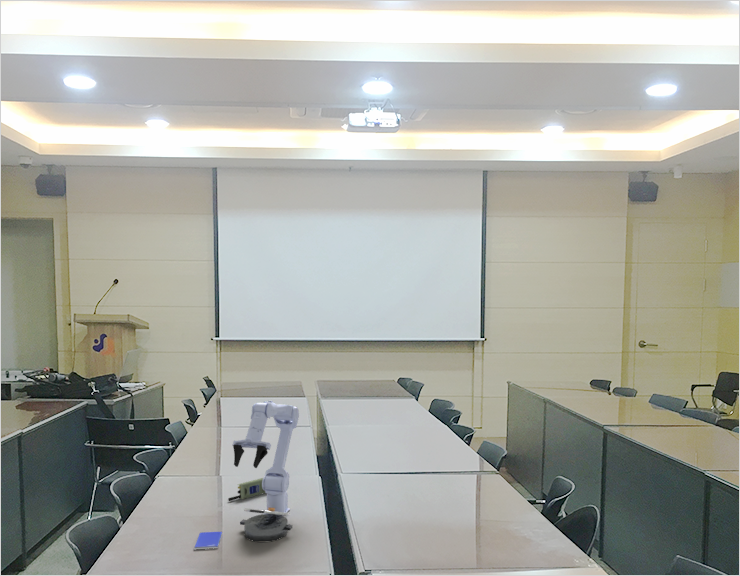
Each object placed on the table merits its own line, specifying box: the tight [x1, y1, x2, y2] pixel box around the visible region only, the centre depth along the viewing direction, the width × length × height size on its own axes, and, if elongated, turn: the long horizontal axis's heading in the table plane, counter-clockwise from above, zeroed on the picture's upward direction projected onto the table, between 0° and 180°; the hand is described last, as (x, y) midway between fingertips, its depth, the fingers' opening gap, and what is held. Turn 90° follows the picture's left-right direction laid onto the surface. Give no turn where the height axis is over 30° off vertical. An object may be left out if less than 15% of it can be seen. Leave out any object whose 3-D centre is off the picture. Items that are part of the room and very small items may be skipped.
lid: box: [243, 507, 290, 516], centre depth 229 cm, size 18×17×2 cm
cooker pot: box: [239, 513, 293, 542], centre depth 230 cm, size 18×20×4 cm
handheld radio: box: [227, 477, 266, 502], centre depth 268 cm, size 7×3×25 cm
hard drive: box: [193, 531, 223, 551], centre depth 221 cm, size 2×8×12 cm
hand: (245, 466), depth 219 cm, fingers open, 7 cm apart
